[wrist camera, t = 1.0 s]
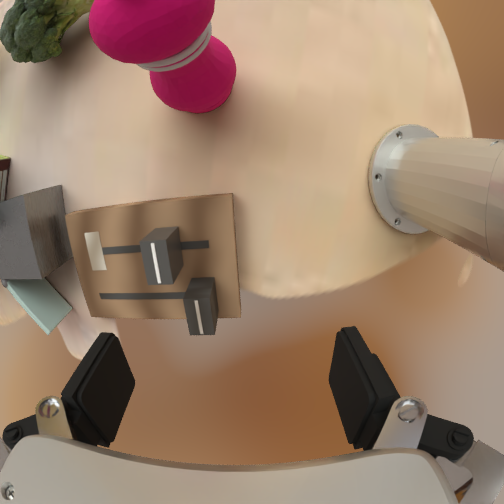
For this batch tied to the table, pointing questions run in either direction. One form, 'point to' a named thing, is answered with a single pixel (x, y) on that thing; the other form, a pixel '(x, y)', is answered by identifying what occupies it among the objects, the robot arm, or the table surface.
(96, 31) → the pepper mill
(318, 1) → the table surface
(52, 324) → the door
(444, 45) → the table surface
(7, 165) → the protein box
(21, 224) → the box
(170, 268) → the fader knob
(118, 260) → the fader board
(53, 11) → the vegetable
